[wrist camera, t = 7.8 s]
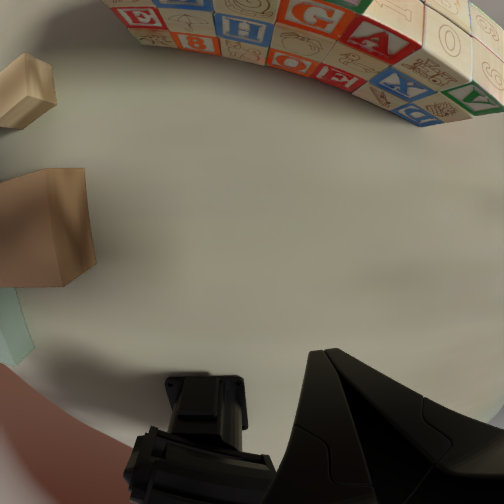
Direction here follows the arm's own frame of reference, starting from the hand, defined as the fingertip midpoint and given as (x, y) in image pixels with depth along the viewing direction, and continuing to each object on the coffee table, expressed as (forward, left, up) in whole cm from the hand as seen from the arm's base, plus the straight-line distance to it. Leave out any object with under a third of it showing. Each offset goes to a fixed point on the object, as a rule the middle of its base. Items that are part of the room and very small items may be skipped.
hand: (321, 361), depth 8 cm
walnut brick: (+3, +18, -12) cm, 22 cm away
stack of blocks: (+15, -2, -12) cm, 20 cm away
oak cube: (+14, +18, -12) cm, 26 cm away
